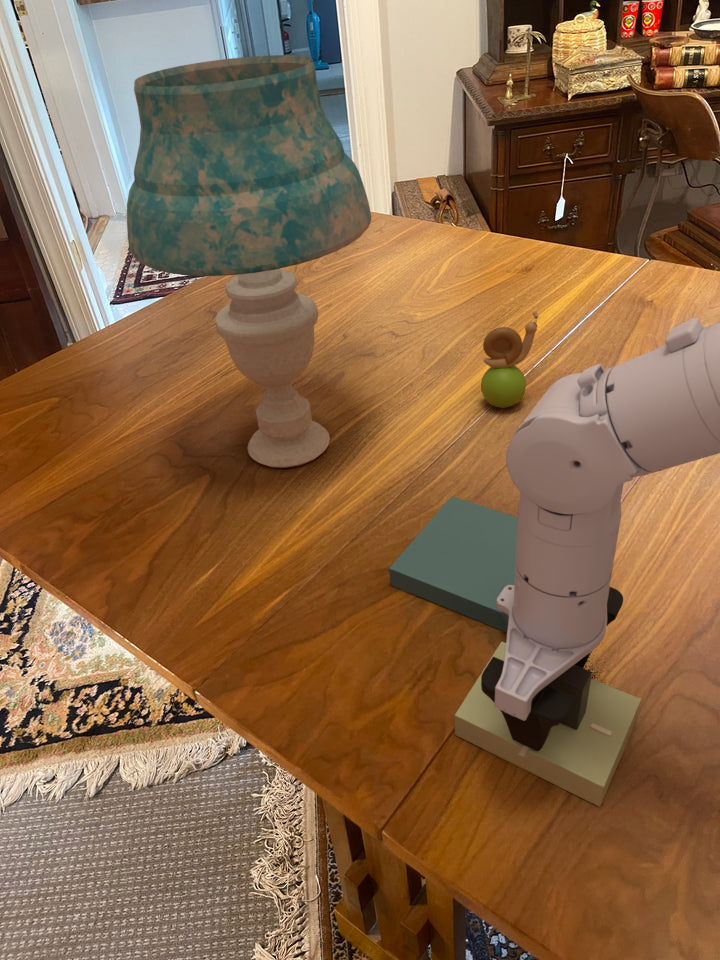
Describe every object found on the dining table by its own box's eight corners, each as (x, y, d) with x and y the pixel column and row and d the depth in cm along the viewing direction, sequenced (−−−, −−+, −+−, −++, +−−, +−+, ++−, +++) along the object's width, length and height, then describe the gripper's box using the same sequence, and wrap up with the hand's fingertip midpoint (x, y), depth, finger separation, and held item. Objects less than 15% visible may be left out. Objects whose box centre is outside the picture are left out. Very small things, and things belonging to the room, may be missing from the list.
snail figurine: (536, 414, 89) (542, 322, 82) (483, 417, 90) (484, 326, 82) (529, 391, 94) (534, 303, 86) (478, 394, 94) (479, 306, 87)
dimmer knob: (586, 712, 52) (592, 669, 50) (576, 730, 51) (583, 688, 49) (520, 683, 55) (523, 640, 52) (510, 700, 54) (513, 658, 51)
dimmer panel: (639, 713, 55) (644, 691, 53) (596, 815, 49) (601, 793, 47) (503, 656, 60) (504, 634, 59) (450, 741, 54) (450, 719, 53)
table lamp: (227, 537, 76) (117, 110, 52) (167, 432, 93) (65, 78, 69) (425, 462, 83) (409, 59, 59) (336, 378, 101) (295, 42, 77)
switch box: (621, 569, 67) (627, 536, 65) (566, 672, 58) (570, 638, 56) (451, 512, 76) (451, 481, 73) (381, 595, 67) (378, 563, 65)
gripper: (547, 482, 51) (536, 615, 59) (448, 617, 42) (451, 754, 50) (649, 511, 48) (623, 649, 56) (567, 666, 39) (549, 804, 47)
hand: (548, 701), depth 53 cm, fingers open, 7 cm apart
